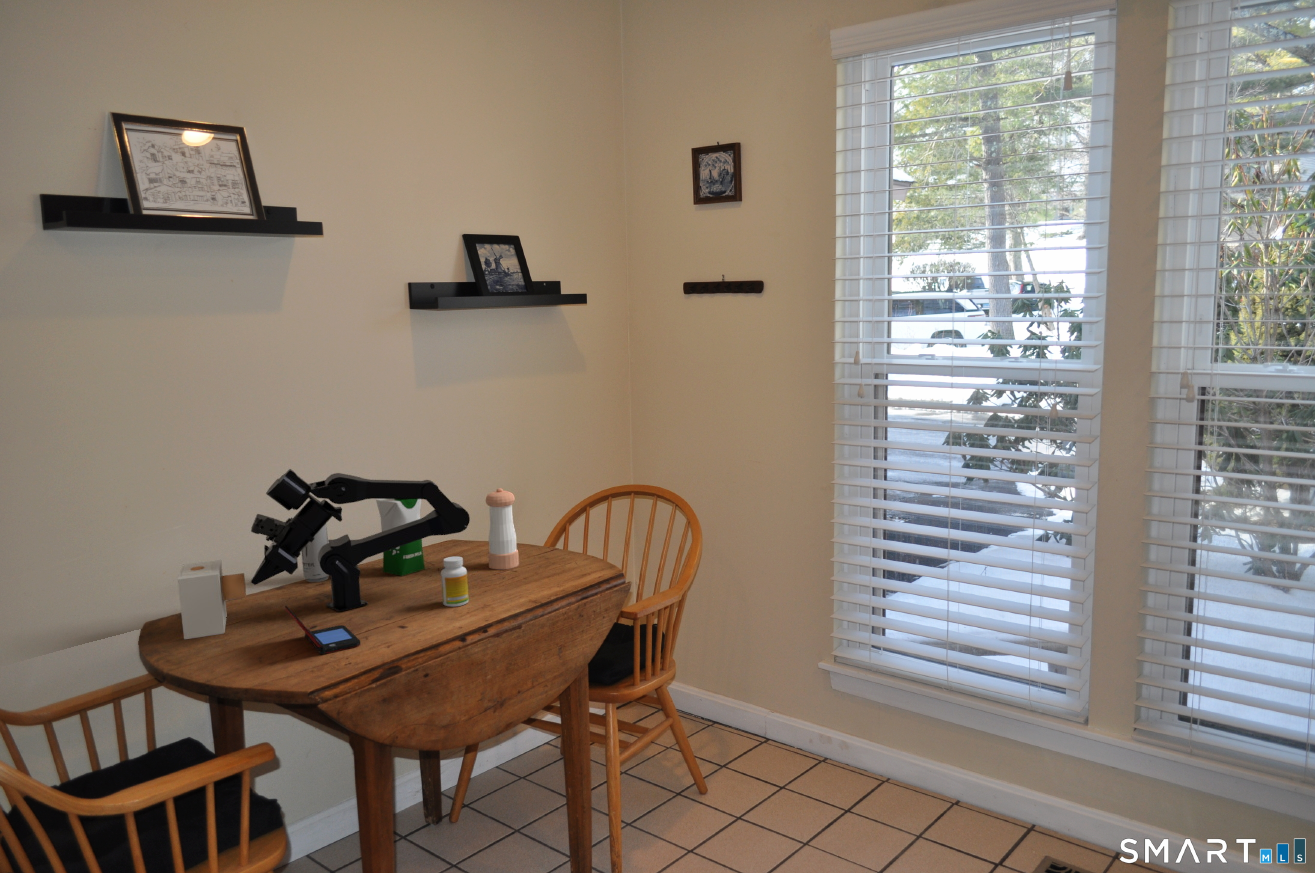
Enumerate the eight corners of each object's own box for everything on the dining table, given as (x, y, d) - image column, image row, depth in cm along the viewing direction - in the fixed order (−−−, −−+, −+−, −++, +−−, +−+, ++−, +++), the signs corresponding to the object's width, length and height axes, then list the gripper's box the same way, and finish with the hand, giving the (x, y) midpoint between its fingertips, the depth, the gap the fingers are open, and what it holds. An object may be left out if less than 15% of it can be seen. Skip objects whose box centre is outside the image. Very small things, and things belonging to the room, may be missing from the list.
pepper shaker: (516, 569, 213) (511, 490, 210) (486, 570, 213) (481, 491, 211) (521, 560, 220) (517, 485, 218) (492, 561, 220) (487, 485, 218)
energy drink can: (299, 580, 210) (293, 518, 208) (323, 574, 214) (318, 513, 212) (311, 584, 206) (306, 521, 204) (335, 578, 210) (330, 516, 208)
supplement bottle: (473, 602, 189) (471, 557, 187) (452, 608, 185) (449, 563, 184) (459, 597, 192) (456, 553, 191) (437, 603, 188) (434, 559, 187)
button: (246, 593, 183) (243, 570, 182) (245, 600, 179) (243, 576, 178) (224, 596, 182) (222, 573, 181) (223, 603, 177) (221, 579, 176)
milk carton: (401, 577, 209) (395, 494, 206) (377, 572, 214) (370, 491, 212) (430, 568, 216) (425, 487, 213) (406, 563, 221) (400, 484, 219)
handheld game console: (362, 647, 165) (359, 608, 164) (301, 661, 159) (298, 621, 158) (344, 629, 175) (341, 592, 174) (286, 641, 169) (283, 603, 168)
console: (226, 615, 185) (221, 558, 184) (224, 633, 174) (218, 572, 173) (189, 621, 183) (183, 562, 181) (184, 639, 172) (177, 577, 170)
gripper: (274, 492, 190) (221, 549, 187) (274, 508, 173) (216, 571, 170) (316, 524, 194) (265, 580, 191) (320, 542, 177) (265, 604, 174)
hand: (252, 583), depth 181 cm, fingers closed
